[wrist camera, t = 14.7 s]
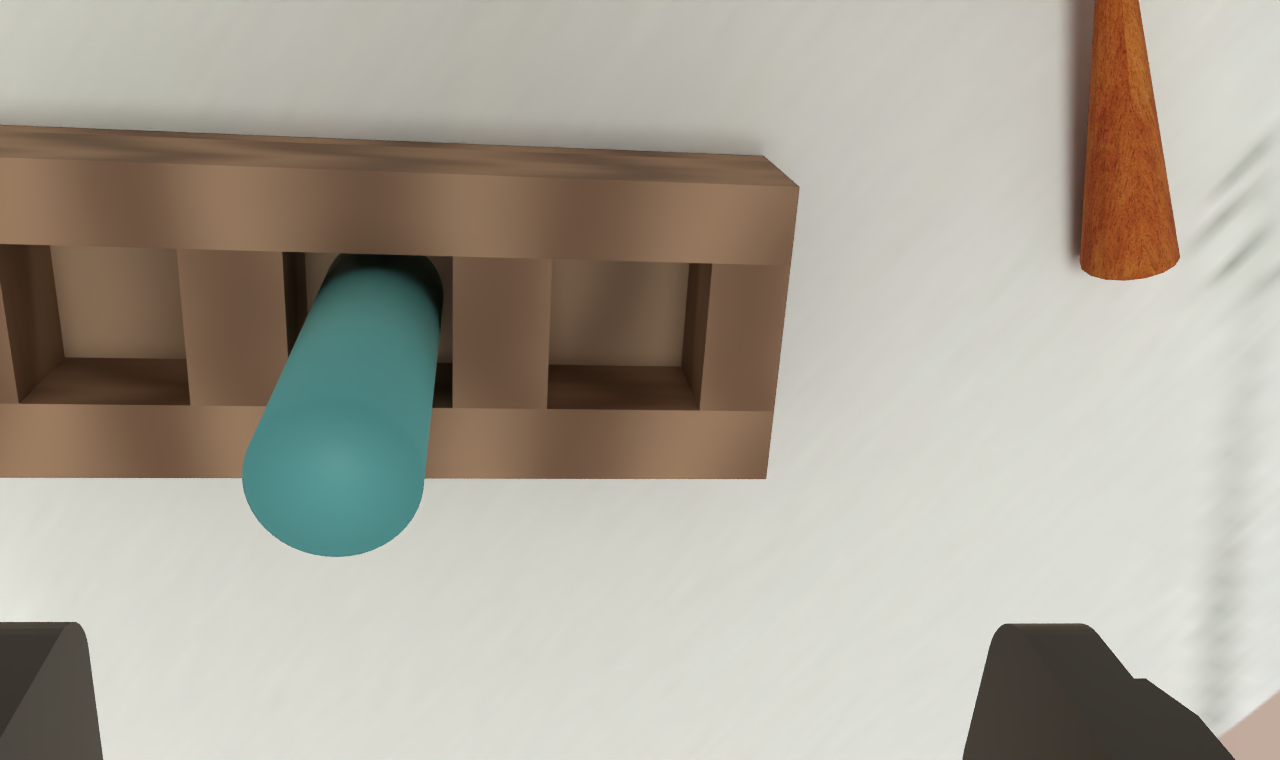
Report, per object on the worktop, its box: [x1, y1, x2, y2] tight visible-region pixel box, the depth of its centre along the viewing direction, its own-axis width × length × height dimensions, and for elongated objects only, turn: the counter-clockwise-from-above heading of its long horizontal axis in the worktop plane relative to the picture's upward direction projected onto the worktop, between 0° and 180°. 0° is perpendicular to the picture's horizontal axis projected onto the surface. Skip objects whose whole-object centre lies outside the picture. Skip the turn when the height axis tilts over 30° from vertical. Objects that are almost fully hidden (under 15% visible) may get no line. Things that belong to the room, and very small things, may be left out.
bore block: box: [0, 125, 799, 479], centre depth 37 cm, size 26×10×5 cm, turn 87°
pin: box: [242, 253, 444, 557], centre depth 32 cm, size 4×4×14 cm
